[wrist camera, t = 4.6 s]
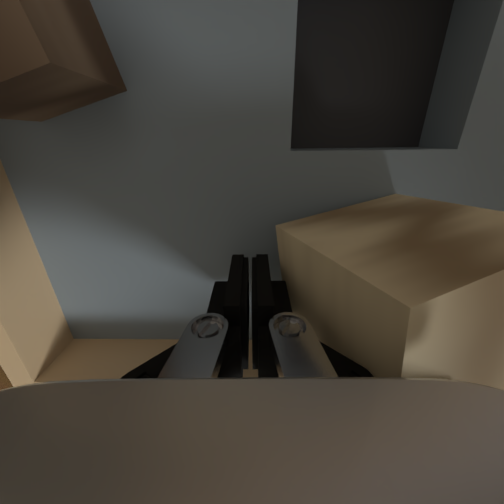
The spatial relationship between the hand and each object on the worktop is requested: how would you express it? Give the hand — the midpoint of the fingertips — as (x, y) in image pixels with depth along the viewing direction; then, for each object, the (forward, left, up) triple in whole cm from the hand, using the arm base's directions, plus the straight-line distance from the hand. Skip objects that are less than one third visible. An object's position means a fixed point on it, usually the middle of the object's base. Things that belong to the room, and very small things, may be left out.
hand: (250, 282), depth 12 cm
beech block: (-4, 0, 0) cm, 4 cm away
